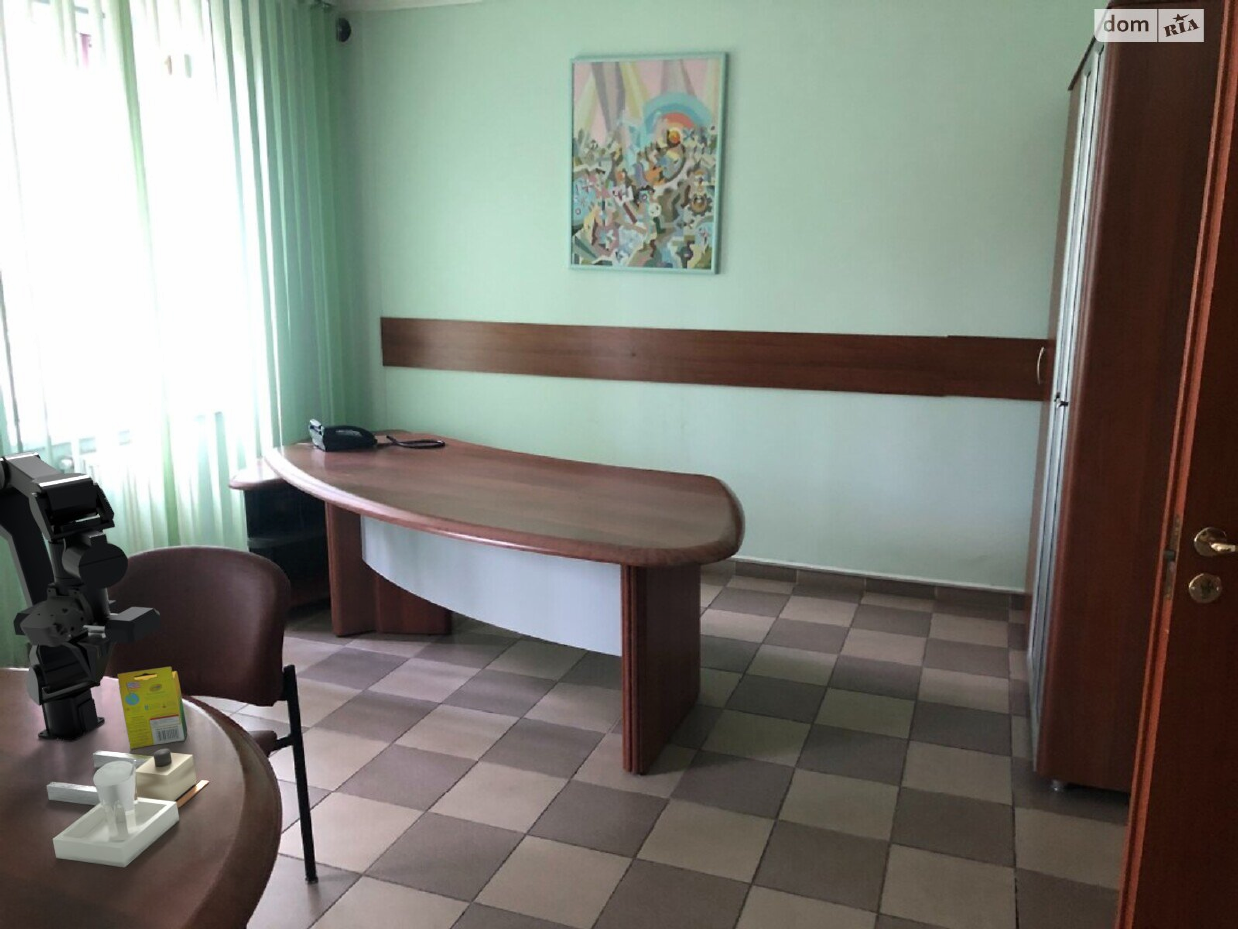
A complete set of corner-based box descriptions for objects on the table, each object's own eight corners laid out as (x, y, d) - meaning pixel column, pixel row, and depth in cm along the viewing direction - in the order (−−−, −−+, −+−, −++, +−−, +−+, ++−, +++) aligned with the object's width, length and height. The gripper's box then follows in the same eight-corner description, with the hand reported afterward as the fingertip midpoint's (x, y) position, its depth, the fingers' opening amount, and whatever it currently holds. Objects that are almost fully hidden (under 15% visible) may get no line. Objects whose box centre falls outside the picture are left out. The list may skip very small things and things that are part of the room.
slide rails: (49, 799, 127) (46, 786, 126) (100, 763, 135) (97, 750, 135) (171, 815, 122) (168, 800, 122) (215, 776, 131) (214, 763, 130)
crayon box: (188, 731, 143) (176, 658, 140) (184, 741, 140) (173, 667, 138) (133, 739, 141) (121, 666, 139) (129, 749, 139) (116, 674, 136)
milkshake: (134, 847, 115) (121, 771, 112) (95, 843, 116) (81, 767, 114) (159, 824, 119) (147, 751, 117) (121, 820, 120) (108, 748, 118)
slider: (138, 799, 126) (131, 761, 124) (164, 778, 130) (158, 741, 129) (171, 803, 124) (165, 764, 123) (196, 782, 129) (191, 744, 128)
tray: (56, 857, 114) (52, 839, 114) (114, 811, 123) (111, 794, 123) (124, 867, 112) (121, 848, 111) (179, 819, 121) (176, 802, 120)
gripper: (-33, 589, 122) (-10, 702, 126) (92, 597, 117) (112, 714, 121) (38, 560, 132) (57, 665, 136) (155, 566, 128) (172, 675, 132)
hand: (97, 680), depth 131 cm, fingers closed
